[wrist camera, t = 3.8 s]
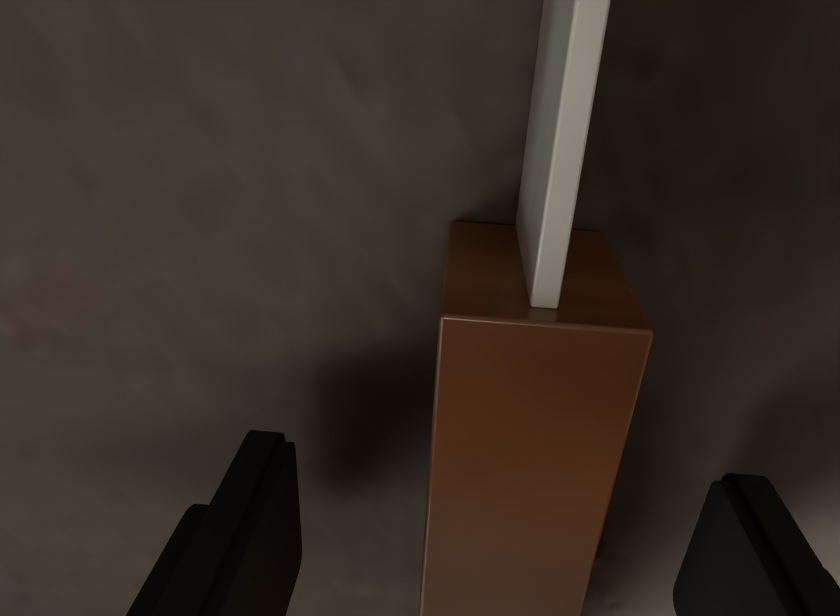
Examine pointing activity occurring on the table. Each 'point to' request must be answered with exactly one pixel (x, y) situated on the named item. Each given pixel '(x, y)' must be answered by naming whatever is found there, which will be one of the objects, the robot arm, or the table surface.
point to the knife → (532, 368)
